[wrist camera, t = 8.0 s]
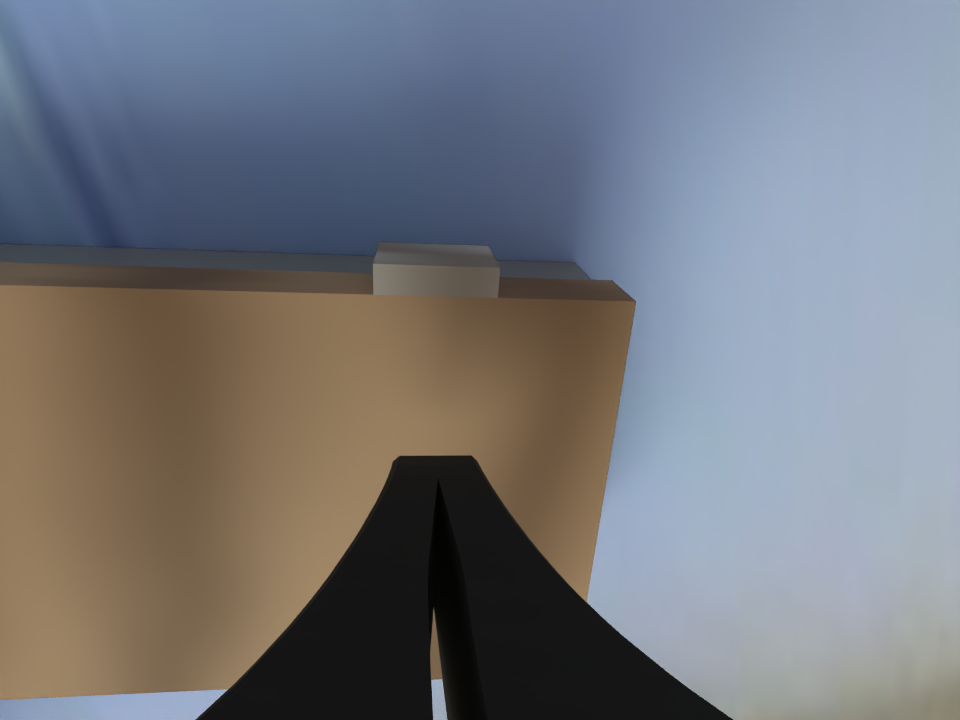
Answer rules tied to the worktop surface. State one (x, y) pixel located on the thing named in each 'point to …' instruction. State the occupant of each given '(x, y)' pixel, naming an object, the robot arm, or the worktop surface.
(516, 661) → the robot arm
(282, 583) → the tan flat wooden board
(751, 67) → the worktop surface
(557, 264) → the cable duct
